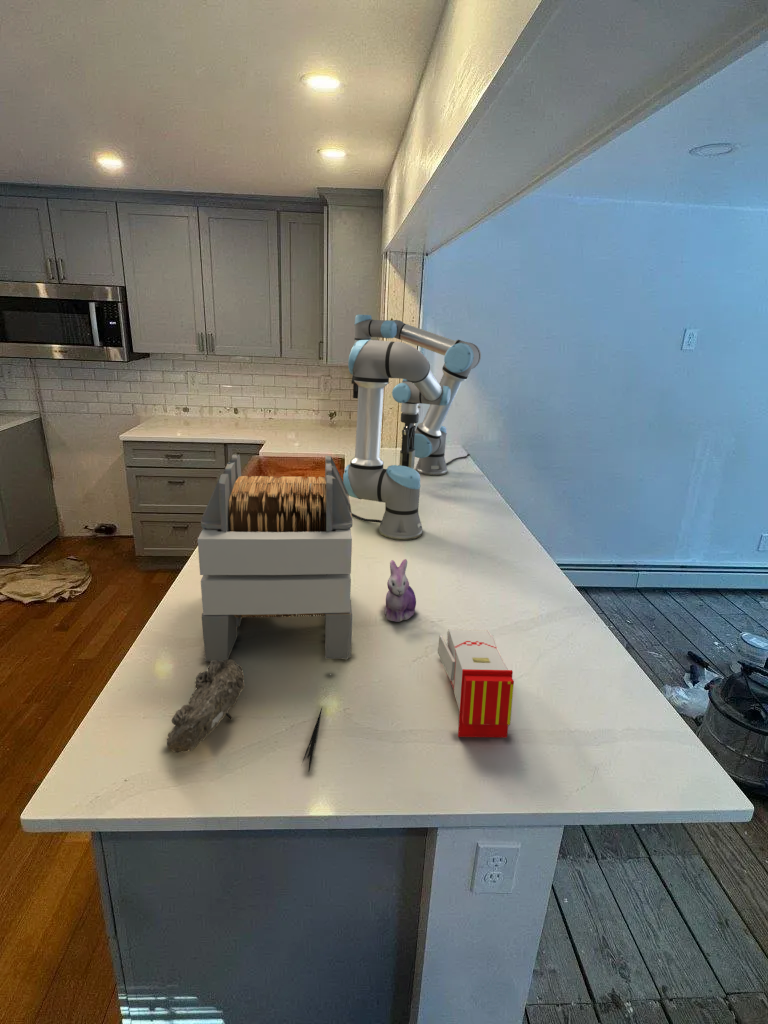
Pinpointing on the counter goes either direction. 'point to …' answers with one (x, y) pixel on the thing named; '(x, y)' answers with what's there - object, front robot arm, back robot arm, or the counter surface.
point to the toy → (478, 682)
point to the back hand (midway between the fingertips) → (360, 396)
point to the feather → (313, 740)
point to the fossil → (206, 705)
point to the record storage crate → (276, 555)
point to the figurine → (399, 594)
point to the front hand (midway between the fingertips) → (406, 466)
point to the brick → (411, 458)
